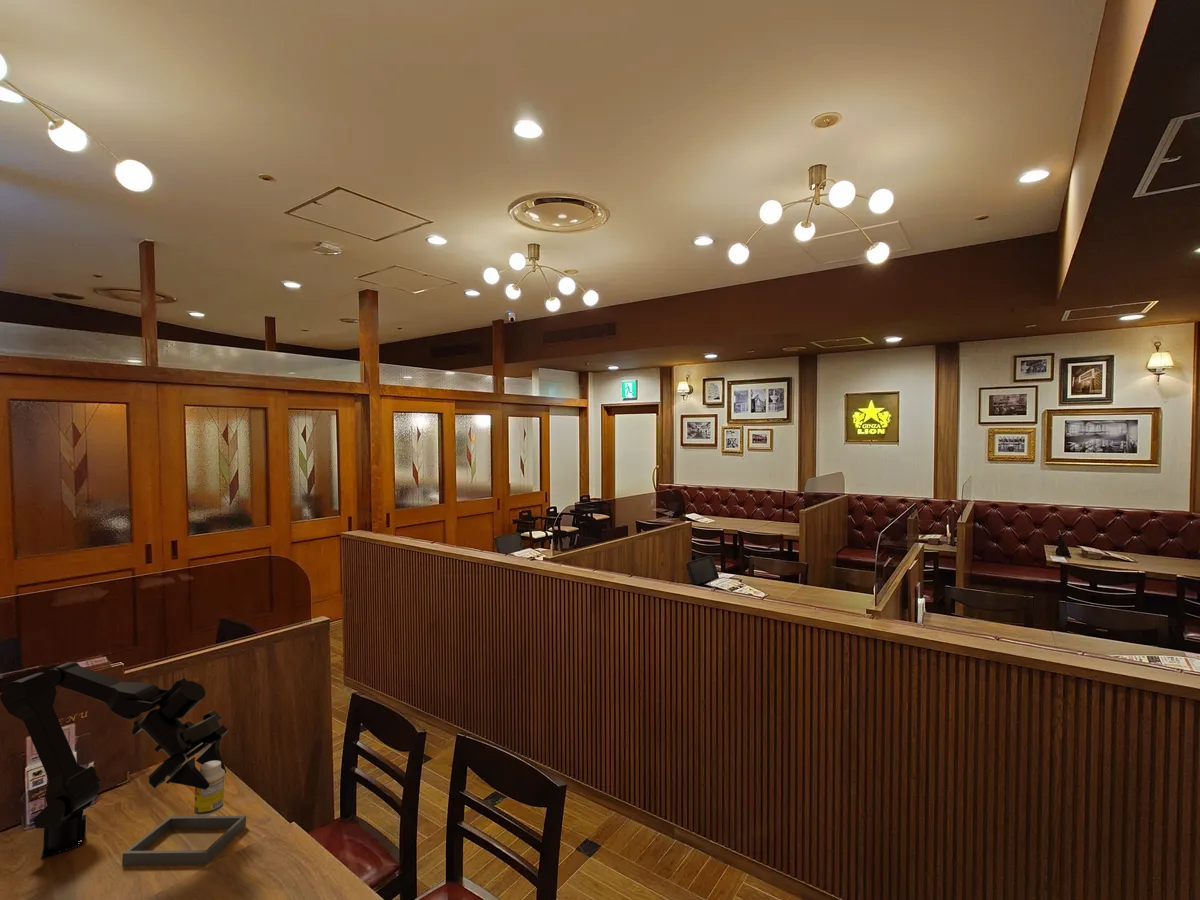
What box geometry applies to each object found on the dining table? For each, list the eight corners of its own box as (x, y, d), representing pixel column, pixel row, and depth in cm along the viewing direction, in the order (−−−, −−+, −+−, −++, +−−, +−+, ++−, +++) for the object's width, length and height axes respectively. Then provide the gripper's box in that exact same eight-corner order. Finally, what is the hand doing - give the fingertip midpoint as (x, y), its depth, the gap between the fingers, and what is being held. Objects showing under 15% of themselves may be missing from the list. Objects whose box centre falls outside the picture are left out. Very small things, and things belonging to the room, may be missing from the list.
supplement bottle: (198, 806, 128) (200, 760, 128) (226, 801, 130) (228, 756, 130) (190, 820, 123) (191, 772, 123) (219, 815, 124) (221, 768, 125)
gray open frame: (122, 865, 118) (122, 853, 118) (169, 827, 131) (170, 816, 131) (206, 864, 118) (207, 852, 118) (245, 826, 131) (246, 815, 131)
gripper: (165, 723, 118) (216, 775, 118) (221, 690, 137) (265, 735, 136) (125, 762, 117) (176, 815, 117) (187, 723, 136) (231, 769, 136)
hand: (216, 780), depth 126 cm, fingers closed on supplement bottle, 5 cm apart
